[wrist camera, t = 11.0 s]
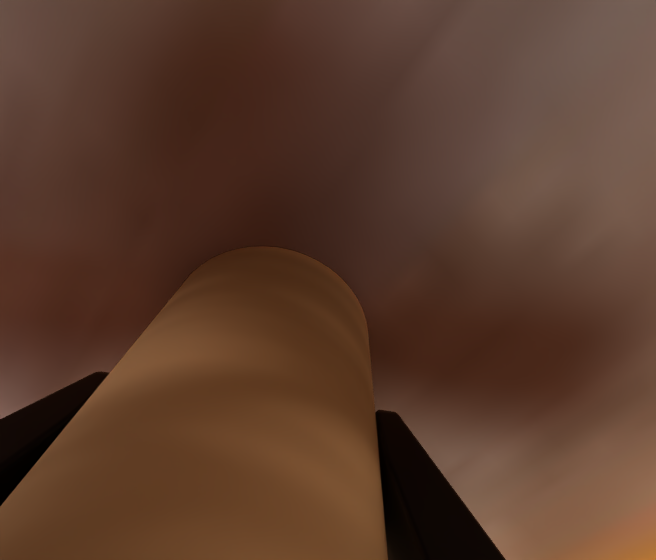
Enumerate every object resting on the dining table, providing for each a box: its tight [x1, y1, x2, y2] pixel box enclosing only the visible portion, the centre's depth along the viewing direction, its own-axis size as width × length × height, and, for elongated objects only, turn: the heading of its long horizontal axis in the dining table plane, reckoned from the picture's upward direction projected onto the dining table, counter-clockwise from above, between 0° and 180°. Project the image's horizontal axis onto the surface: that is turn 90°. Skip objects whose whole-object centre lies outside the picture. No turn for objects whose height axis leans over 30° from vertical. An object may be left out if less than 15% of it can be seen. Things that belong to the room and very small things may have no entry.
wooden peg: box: [0, 246, 388, 560], centre depth 7 cm, size 5×5×9 cm
